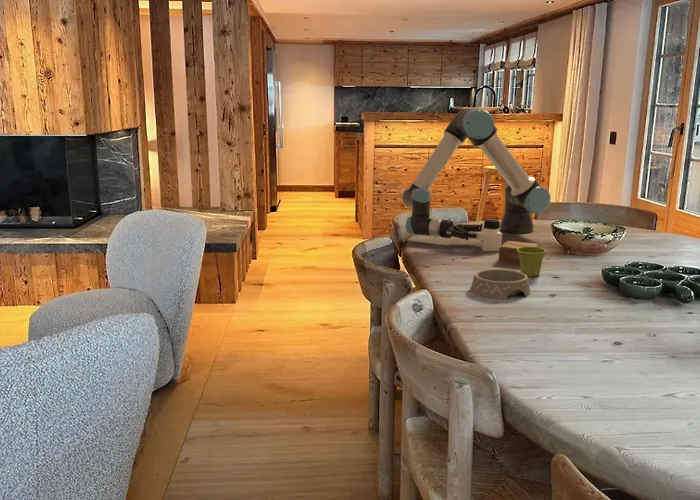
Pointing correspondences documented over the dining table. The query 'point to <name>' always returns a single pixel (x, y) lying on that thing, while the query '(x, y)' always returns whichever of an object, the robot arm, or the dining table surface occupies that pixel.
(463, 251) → the dining table surface
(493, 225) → the medicine bottle
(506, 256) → the walnut box
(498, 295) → the dog bowl
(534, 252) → the plant pot
